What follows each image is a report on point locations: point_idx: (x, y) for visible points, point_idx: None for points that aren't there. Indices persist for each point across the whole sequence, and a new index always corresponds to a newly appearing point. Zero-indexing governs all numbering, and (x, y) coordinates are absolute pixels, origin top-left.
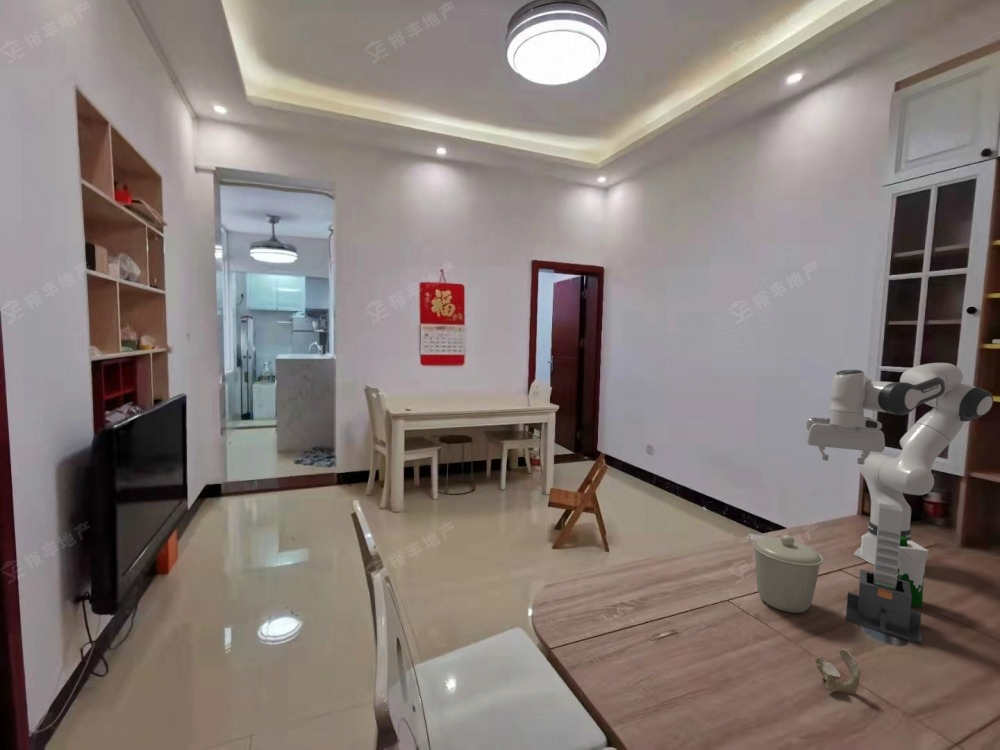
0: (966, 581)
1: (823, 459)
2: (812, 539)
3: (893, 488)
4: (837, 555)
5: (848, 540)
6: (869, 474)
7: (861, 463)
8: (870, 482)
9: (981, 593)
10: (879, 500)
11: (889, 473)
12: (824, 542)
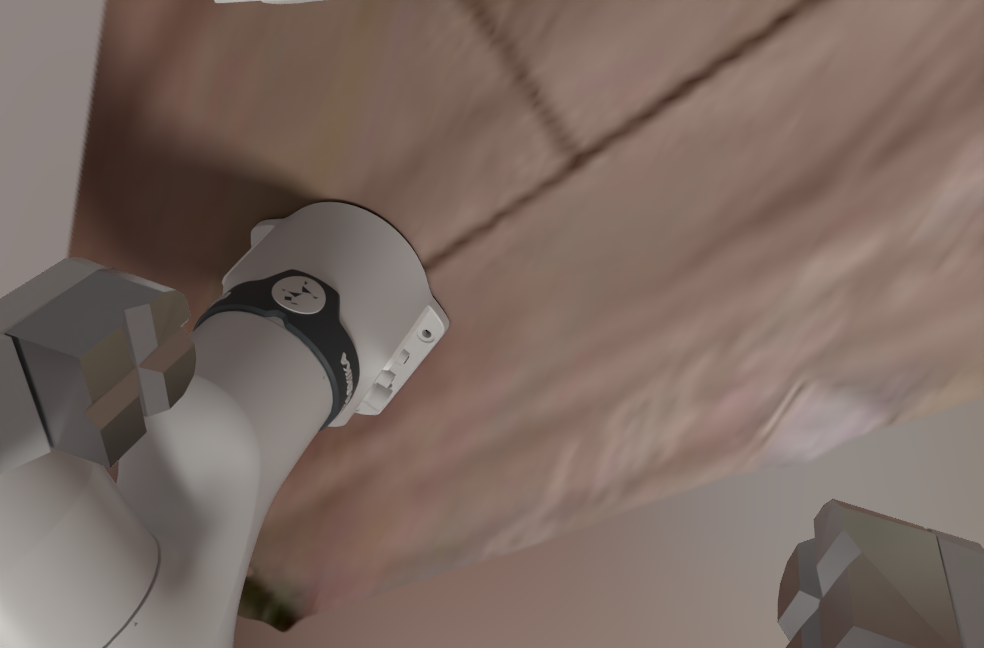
0: (141, 178)
1: (975, 544)
2: (558, 444)
3: (115, 485)
4: (520, 310)
5: (418, 447)
6: (191, 638)
7: (114, 272)
8: (217, 585)
9: (118, 83)
10: (235, 460)
11: (56, 570)
12: (519, 422)
